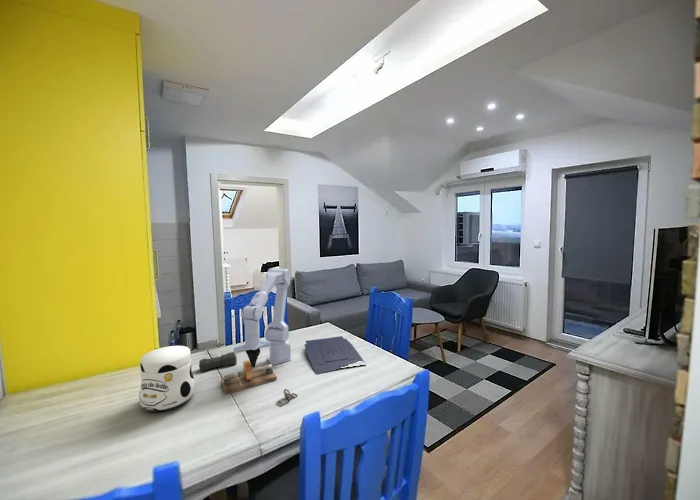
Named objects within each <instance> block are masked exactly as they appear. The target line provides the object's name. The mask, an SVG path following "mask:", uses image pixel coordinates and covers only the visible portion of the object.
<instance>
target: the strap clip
mask: <svg viewBox="0 0 700 500" xmlns="http://www.w3.org/2000/svg"><path fill="white" fill-rule="evenodd" d="M283 395H284V397H281V398H280V399H278V400H277V401H276V402H275V405H277V406H278V407H283V406H285V405H286V404H287V403H289V401H293V400H294V399H296V398H298V394H296V393H294V392H292V393H291V391H290V389H288V388H284V390H283ZM292 399H293V400H292Z"/></svg>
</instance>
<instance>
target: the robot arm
mask: <svg viewBox="0 0 700 500" xmlns="http://www.w3.org/2000/svg"><path fill="white" fill-rule="evenodd" d="M265 274H266V275H265V276H266V279H265V282H264V283H263V284H262V285H263V286H262V288H261V289H260V291H257V292H256V293H255V294H254V296H253V297H252V299H251V301H250V302H249V303H248V305H246V306H244V307H243V308H242V310H241V313H240V315H241V319H242V320H243V321H242V323H243V324H244V344H242V345H239V346H236V347H233V352H234V354H236V355H237V354H239V353H242V352H244V353H246V355H247V357H248V361H249V362H250V364H251V365H252V369H254V368H256V364H257V361H258V358H259V356H260V353H261V349H263V348H266V347H267V348H269V357H266V359H267V361H268V362H269V363H270V364H272V366H273V365H277V364H281V363H284V362H285V363H286V362H289V361H291V360H292V359H291V342H290V340H289V336H290V335H289V334H290V331H289V325H288V324H287V323H286V322H285V312H286V304H287V303H286V302H287V294H288V288H289V287H290V285H291V279H292V277H291V276H292V274H291V272H290V270H289V268H274V267H273V268H272V267H270V268H268V270H267V272H266V273H265ZM274 287H275V288H276V292H275V298H274V300H275V301H274V308H273V315H272V321H271V322H270V323H269V324H267V326H266V327H267V328H266V330H265V333H264V335H265V336H264V337H265V339H266V341H265V340H264V341H261V339H260V338H261V337H260V336H261V335H260V320H261V318H262V316H263V312H264V307H265V305H266V304H267V302H268V301H269V296H268V295H269V294H270V293H271V291H272V290H273V288H274Z"/></svg>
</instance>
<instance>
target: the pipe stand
mask: <svg viewBox="0 0 700 500" xmlns="http://www.w3.org/2000/svg"><path fill="white" fill-rule="evenodd" d="M245 375H246V370H245V371H244V370H242V371H237V372H235V373H230V374H226V375H223V378H221V379H220V384H221V386H222V389H223V391H224V393H225V395H228V394H232V393H235V392H238V391H242V390H246V389H249V388H253V387H256V386H260V385H263V384H267V383H270V382H274V381H277V379H278V378H277V377H278V376H277V375H276V374H275V372H274V370H273V365H272V364H271V363H270V364H266V365H262V366H258V367H253V368H252V379H249V380H247V379H246V377H245Z"/></svg>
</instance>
